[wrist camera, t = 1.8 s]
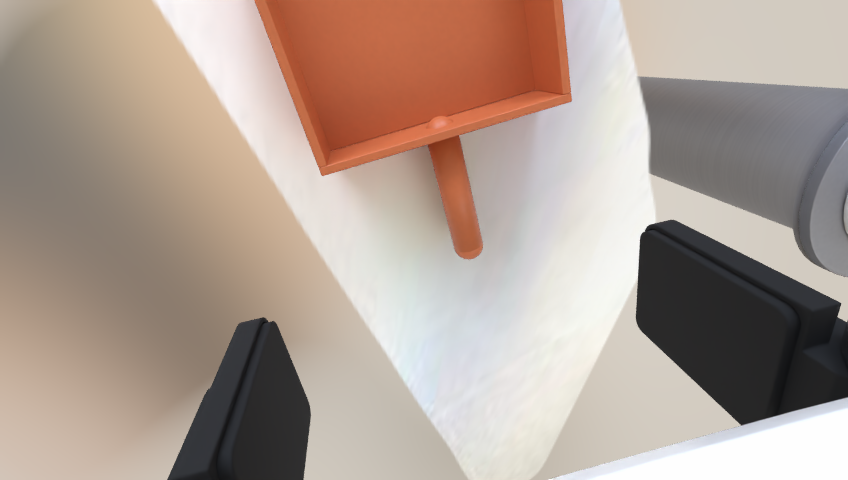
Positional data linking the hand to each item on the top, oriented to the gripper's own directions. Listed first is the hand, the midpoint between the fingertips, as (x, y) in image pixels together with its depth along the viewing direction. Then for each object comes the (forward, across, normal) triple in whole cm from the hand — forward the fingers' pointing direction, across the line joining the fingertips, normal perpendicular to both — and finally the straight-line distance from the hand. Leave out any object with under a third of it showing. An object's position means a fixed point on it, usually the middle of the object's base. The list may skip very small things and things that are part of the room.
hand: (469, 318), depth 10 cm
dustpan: (+19, -3, -3) cm, 20 cm away
